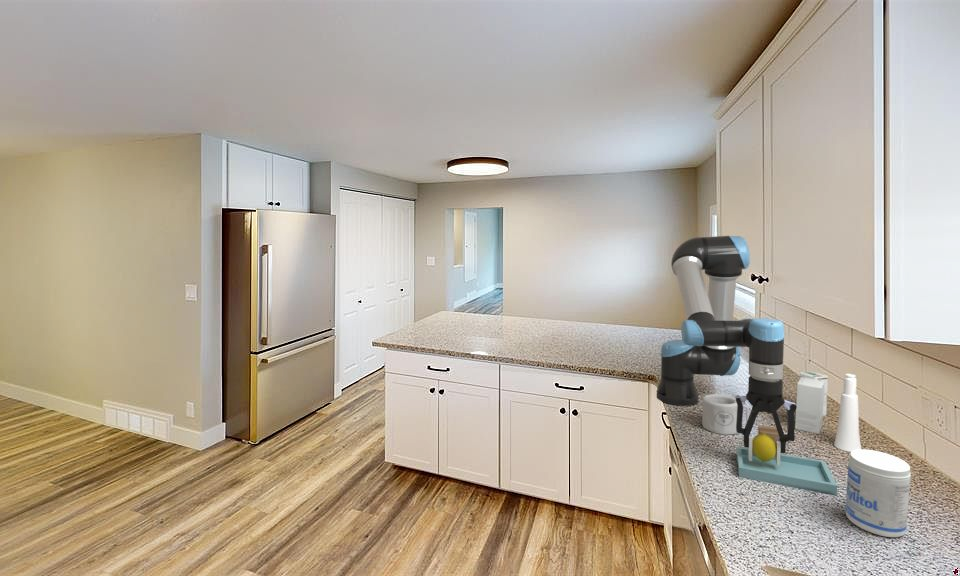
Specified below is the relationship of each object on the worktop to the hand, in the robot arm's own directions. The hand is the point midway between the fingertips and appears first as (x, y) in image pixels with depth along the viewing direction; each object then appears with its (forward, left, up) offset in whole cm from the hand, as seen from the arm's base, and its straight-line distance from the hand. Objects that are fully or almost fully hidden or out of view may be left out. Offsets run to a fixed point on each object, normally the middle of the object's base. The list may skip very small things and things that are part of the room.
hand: (763, 460), depth 113 cm
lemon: (0, 0, -1) cm, 1 cm away
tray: (+1, +4, -2) cm, 5 cm away
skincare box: (-35, +16, -3) cm, 39 cm away
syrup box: (-49, +19, -3) cm, 53 cm away
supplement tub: (+17, +19, -3) cm, 25 cm away
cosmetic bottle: (-23, +23, -3) cm, 33 cm away
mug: (-24, -8, -3) cm, 26 cm away
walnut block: (-13, +3, -2) cm, 14 cm away
